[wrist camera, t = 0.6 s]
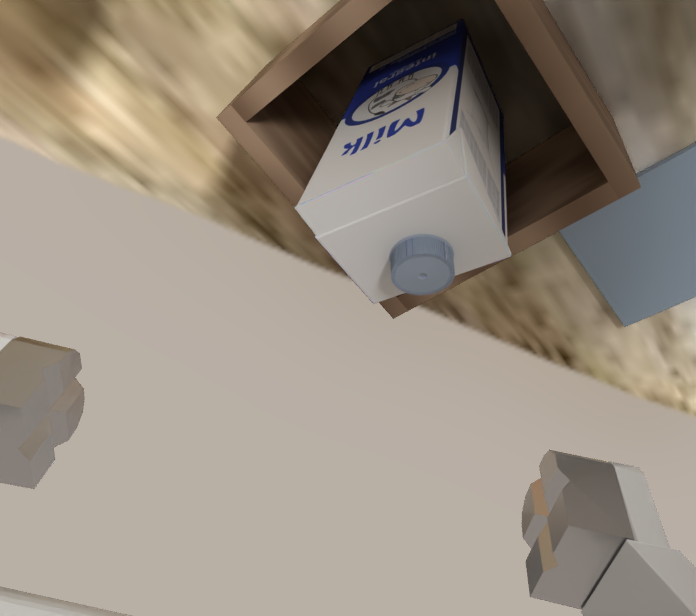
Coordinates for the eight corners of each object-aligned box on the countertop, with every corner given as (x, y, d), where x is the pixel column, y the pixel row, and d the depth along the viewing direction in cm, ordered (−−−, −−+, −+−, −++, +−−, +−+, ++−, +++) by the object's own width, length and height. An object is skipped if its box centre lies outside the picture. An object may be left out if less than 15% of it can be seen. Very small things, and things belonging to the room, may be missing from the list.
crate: (473, -117, 36) (467, -101, 28) (613, 119, 42) (641, 187, 34) (266, 65, 44) (216, 117, 36) (409, 240, 50) (393, 318, 42)
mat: (710, 134, 41) (712, 137, 41) (775, 257, 45) (778, 261, 45) (552, 219, 47) (553, 223, 46) (623, 323, 51) (624, 326, 50)
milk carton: (465, 17, 40) (447, 141, 24) (506, 114, 43) (513, 281, 27) (365, 69, 43) (290, 210, 27) (410, 156, 46) (366, 329, 30)
